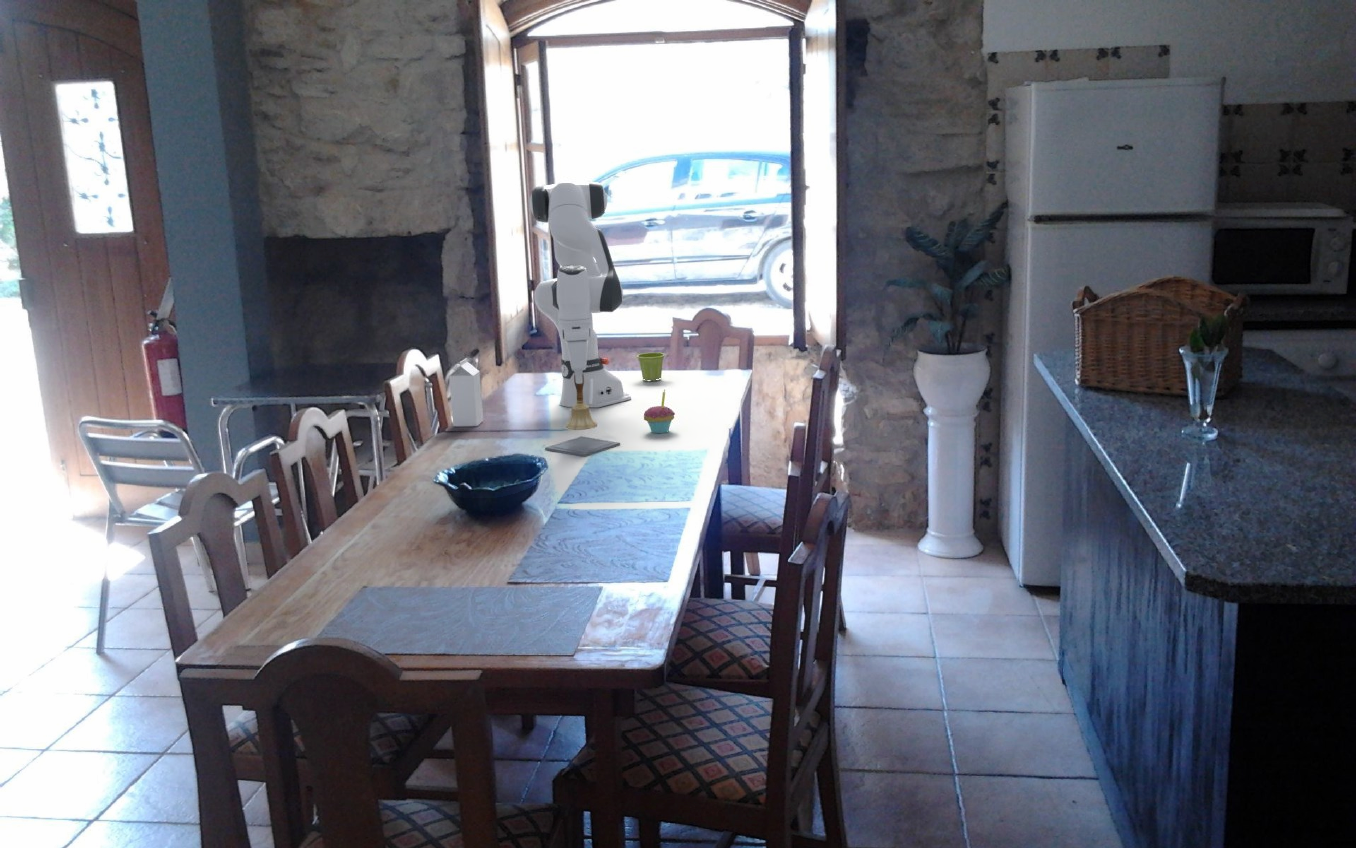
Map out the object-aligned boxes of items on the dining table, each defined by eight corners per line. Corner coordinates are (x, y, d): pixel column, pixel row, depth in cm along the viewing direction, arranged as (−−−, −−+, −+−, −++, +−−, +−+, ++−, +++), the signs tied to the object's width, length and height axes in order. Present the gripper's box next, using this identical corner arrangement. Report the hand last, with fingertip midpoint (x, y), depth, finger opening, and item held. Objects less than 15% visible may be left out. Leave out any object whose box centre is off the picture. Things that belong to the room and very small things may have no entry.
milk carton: (483, 421, 343) (478, 357, 338) (477, 426, 336) (472, 361, 331) (460, 421, 343) (454, 358, 339) (453, 427, 337) (447, 362, 332)
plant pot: (655, 383, 389) (654, 358, 387) (632, 381, 394) (631, 356, 392) (671, 378, 396) (670, 353, 394) (648, 376, 401) (647, 351, 400)
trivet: (581, 438, 317) (581, 436, 317) (620, 444, 308) (619, 442, 308) (545, 449, 306) (544, 447, 306) (584, 456, 298) (583, 454, 297)
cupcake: (679, 428, 324) (677, 386, 321) (669, 435, 316) (667, 392, 313) (650, 427, 327) (648, 385, 324) (639, 434, 319) (637, 391, 316)
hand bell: (565, 423, 310) (561, 365, 306) (596, 421, 310) (593, 363, 306) (565, 431, 301) (562, 370, 298) (597, 429, 302) (594, 369, 298)
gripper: (562, 324, 310) (565, 375, 313) (564, 335, 290) (567, 389, 293) (586, 322, 310) (589, 373, 314) (589, 334, 291) (592, 388, 294)
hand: (578, 381), depth 303 cm, fingers closed on hand bell, 3 cm apart
